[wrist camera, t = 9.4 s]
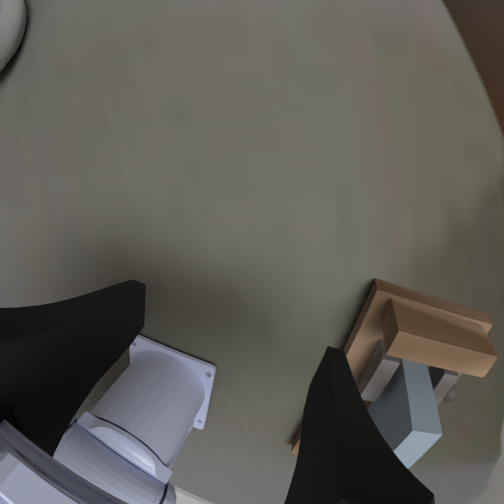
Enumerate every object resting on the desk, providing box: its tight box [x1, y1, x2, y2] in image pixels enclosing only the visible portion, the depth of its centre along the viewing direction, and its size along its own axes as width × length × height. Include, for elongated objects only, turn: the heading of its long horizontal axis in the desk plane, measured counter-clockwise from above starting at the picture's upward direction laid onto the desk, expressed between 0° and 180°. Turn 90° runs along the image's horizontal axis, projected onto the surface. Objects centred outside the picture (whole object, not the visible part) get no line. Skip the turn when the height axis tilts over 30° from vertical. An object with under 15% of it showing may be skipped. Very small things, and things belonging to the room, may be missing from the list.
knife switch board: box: [291, 279, 498, 455], centre depth 20 cm, size 18×9×5 cm, turn 168°
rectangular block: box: [367, 358, 442, 469], centre depth 18 cm, size 10×3×6 cm, turn 168°
